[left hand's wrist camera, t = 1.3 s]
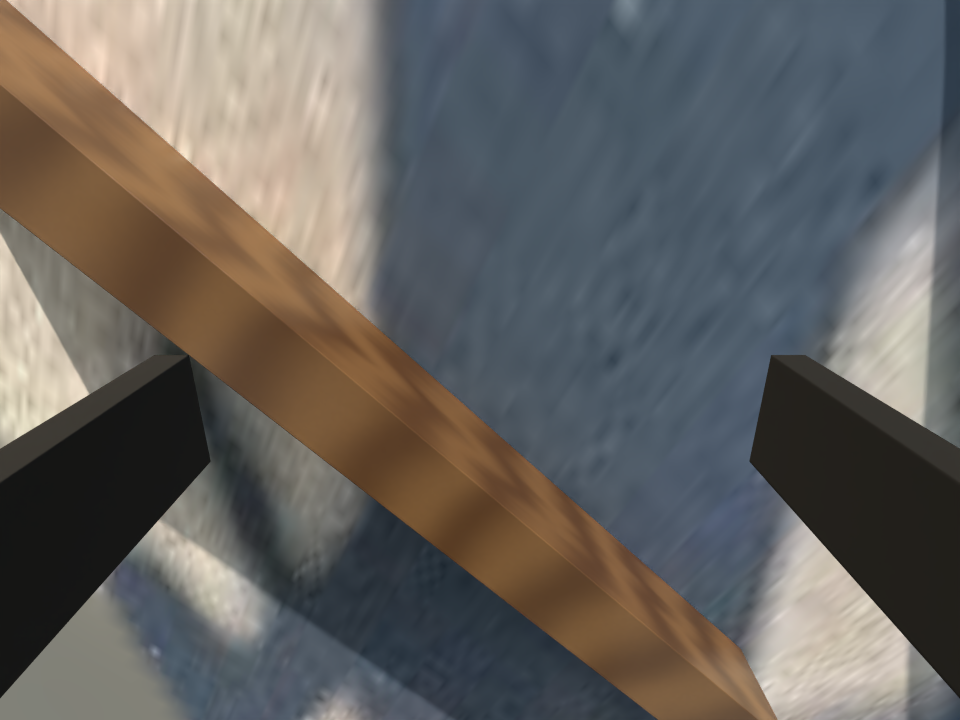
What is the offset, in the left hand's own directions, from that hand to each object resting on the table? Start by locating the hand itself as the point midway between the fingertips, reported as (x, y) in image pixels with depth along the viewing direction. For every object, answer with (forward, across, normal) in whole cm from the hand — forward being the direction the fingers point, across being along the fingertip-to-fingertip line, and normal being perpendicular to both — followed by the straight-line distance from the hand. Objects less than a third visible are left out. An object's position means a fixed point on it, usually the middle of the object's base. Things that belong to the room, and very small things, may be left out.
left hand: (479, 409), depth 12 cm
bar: (+24, -6, -10) cm, 26 cm away
